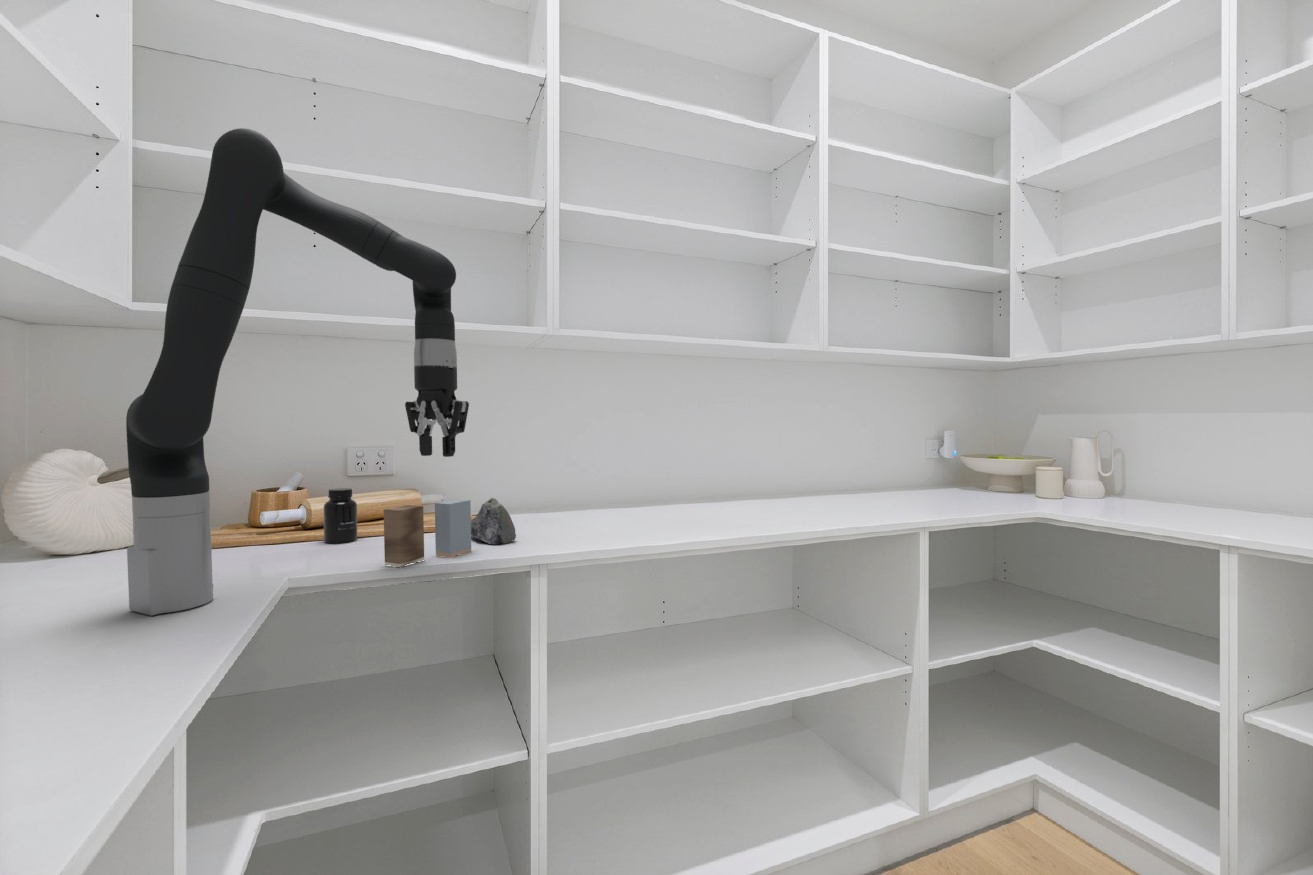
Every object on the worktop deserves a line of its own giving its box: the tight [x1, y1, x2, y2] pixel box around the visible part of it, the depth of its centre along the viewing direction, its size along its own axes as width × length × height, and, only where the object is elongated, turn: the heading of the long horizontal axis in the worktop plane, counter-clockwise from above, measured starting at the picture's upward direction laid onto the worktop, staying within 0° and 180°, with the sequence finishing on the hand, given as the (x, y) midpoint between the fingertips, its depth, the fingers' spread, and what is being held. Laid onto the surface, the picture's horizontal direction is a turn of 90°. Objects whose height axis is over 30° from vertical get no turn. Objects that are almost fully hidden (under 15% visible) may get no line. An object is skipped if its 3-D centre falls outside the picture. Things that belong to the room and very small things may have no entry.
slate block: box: [434, 498, 472, 558], centre depth 124 cm, size 6×4×11 cm, turn 155°
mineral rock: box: [471, 497, 517, 545], centre depth 138 cm, size 13×11×10 cm
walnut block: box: [383, 504, 425, 569], centre depth 116 cm, size 6×4×11 cm, turn 155°
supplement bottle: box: [323, 487, 358, 545], centre depth 137 cm, size 7×7×12 cm
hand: (437, 455), depth 112 cm, fingers open, 5 cm apart
